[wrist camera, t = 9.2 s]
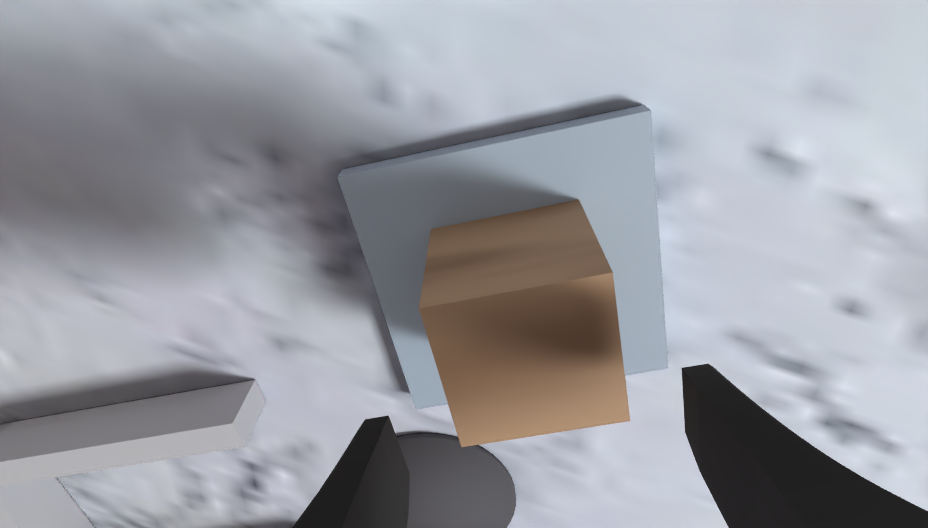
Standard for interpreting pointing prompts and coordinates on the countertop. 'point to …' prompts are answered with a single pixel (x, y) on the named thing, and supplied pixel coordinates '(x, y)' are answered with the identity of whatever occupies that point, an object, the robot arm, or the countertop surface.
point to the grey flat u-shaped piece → (113, 446)
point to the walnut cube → (524, 325)
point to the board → (507, 191)
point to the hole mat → (455, 484)
